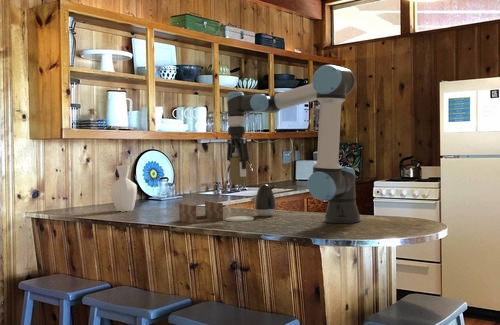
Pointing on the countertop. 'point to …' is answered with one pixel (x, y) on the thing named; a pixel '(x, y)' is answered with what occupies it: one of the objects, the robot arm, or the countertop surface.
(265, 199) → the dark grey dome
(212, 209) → the holder
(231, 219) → the plate
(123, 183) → the vase
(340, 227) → the countertop surface
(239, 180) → the squeeze bottle
